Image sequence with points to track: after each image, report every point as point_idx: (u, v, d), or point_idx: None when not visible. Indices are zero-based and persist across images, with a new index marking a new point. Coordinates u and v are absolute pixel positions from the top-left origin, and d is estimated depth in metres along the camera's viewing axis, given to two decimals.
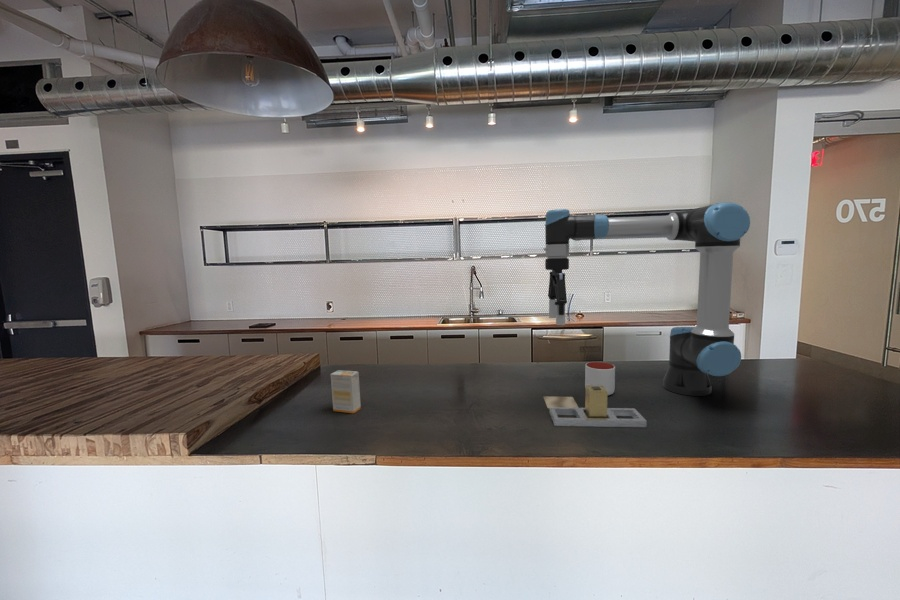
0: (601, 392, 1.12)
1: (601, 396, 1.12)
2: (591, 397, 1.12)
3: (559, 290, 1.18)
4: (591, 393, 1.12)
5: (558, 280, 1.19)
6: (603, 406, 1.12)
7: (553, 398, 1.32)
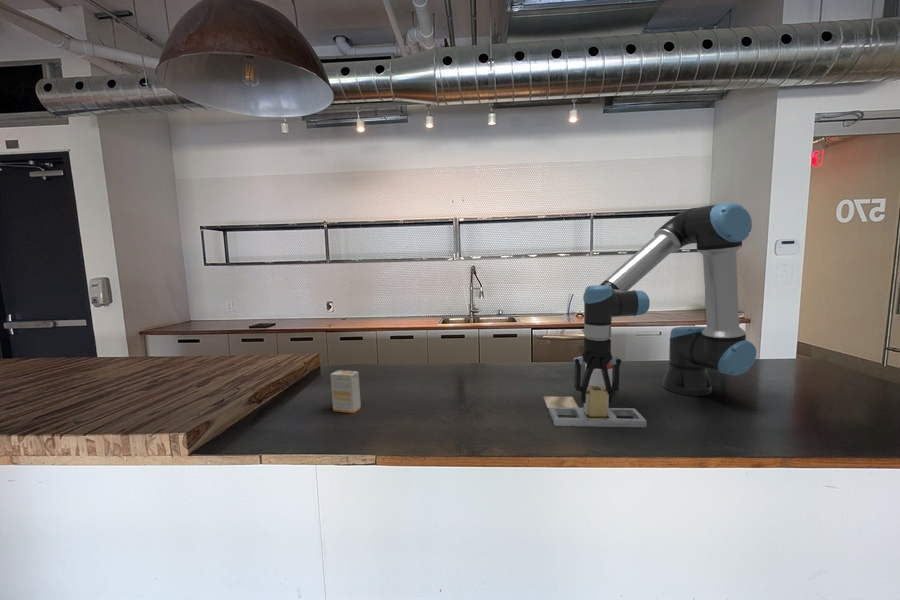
0: (601, 392, 1.12)
1: (601, 395, 1.12)
2: (591, 397, 1.12)
3: None
4: (591, 393, 1.12)
5: (575, 365, 1.15)
6: (603, 406, 1.12)
7: (553, 398, 1.32)
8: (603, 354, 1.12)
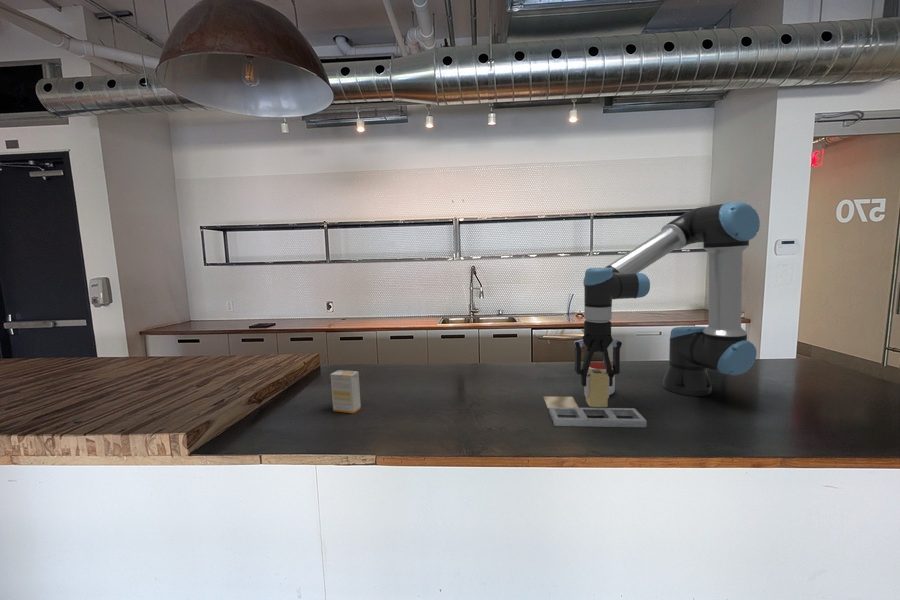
0: (601, 375, 1.11)
1: (601, 378, 1.11)
2: (591, 380, 1.12)
3: (575, 358, 1.15)
4: (591, 376, 1.11)
5: (575, 348, 1.14)
6: (603, 389, 1.12)
7: (553, 398, 1.32)
8: (603, 337, 1.11)
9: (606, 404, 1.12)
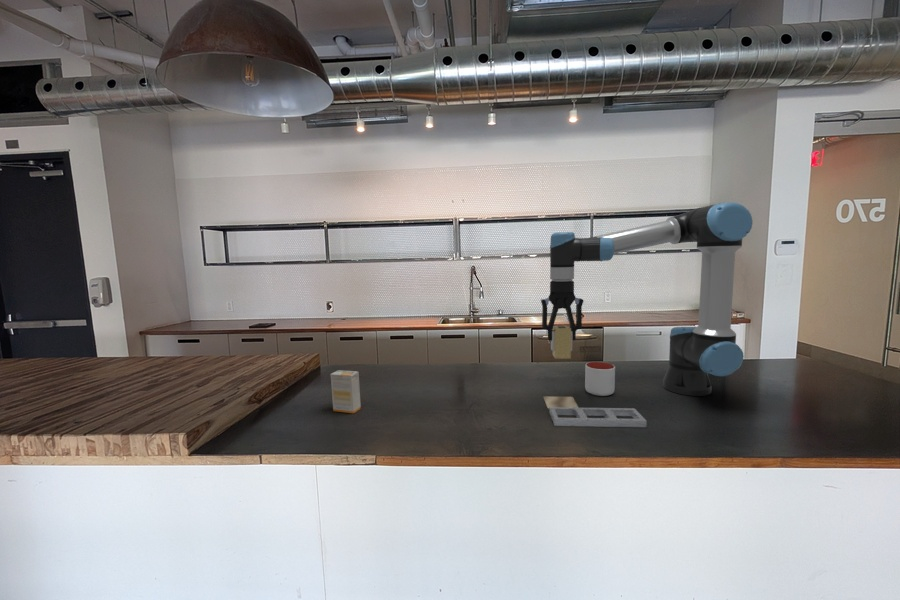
0: (565, 329, 1.23)
1: (565, 332, 1.23)
2: (556, 334, 1.24)
3: (542, 316, 1.27)
4: (556, 330, 1.23)
5: (542, 306, 1.26)
6: (567, 342, 1.24)
7: (553, 398, 1.32)
8: (567, 295, 1.23)
9: (569, 356, 1.24)
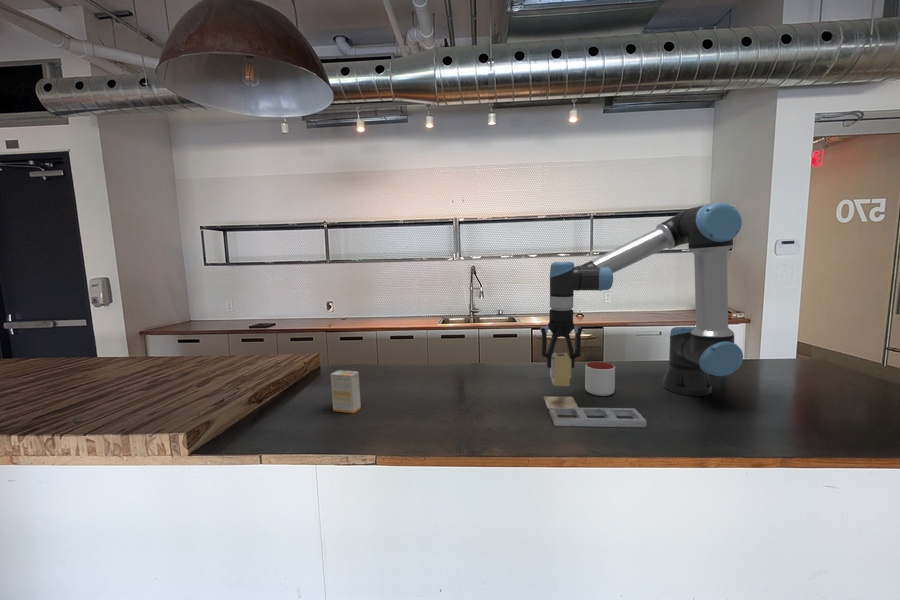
0: (564, 358, 1.25)
1: (564, 360, 1.25)
2: (555, 362, 1.25)
3: None
4: (555, 358, 1.25)
5: None
6: (566, 370, 1.25)
7: (553, 398, 1.32)
8: (566, 323, 1.25)
9: (568, 384, 1.25)
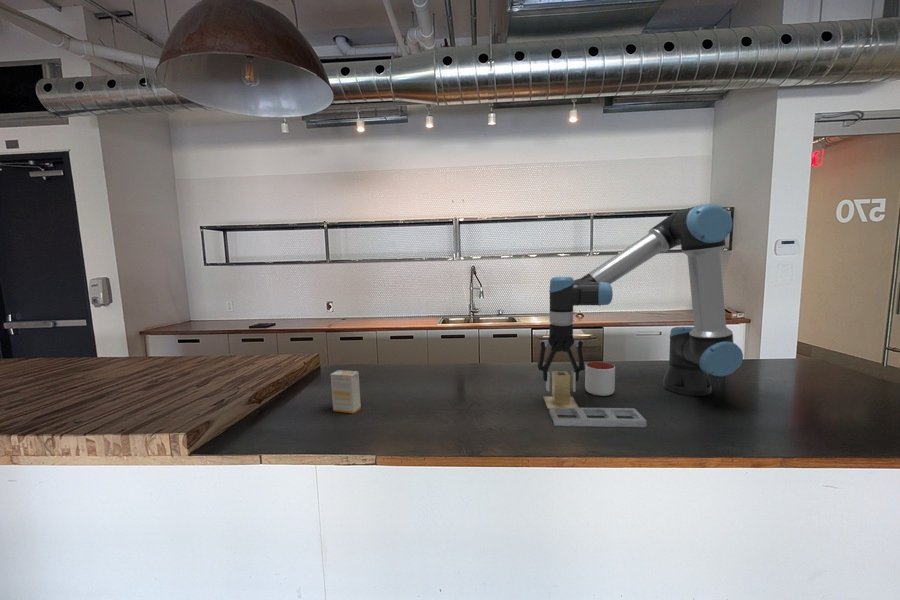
0: (564, 377, 1.25)
1: (564, 380, 1.25)
2: (556, 381, 1.26)
3: (539, 356, 1.29)
4: (556, 377, 1.26)
5: None
6: (566, 389, 1.26)
7: None
8: (566, 339, 1.25)
9: (569, 402, 1.26)
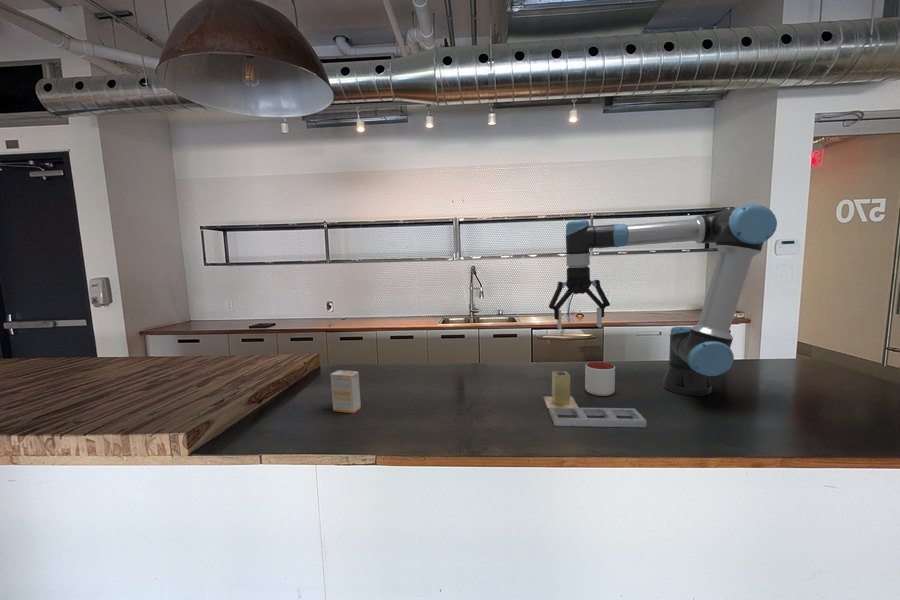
0: (564, 377, 1.25)
1: (564, 380, 1.25)
2: (556, 381, 1.26)
3: (553, 296, 1.32)
4: (556, 377, 1.26)
5: (557, 288, 1.32)
6: (566, 389, 1.26)
7: None
8: (583, 282, 1.29)
9: (569, 402, 1.26)
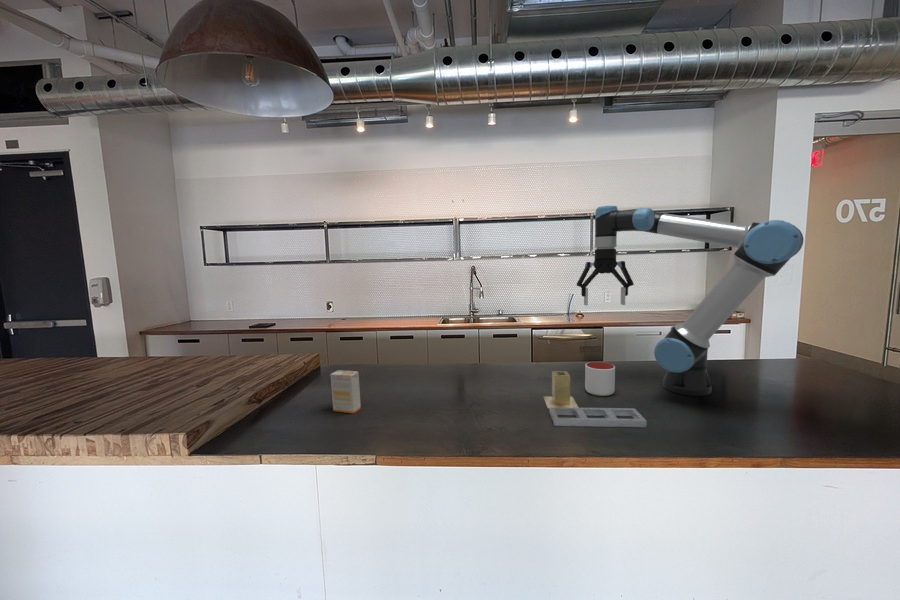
0: (564, 377, 1.25)
1: (564, 380, 1.25)
2: (556, 381, 1.26)
3: (581, 275, 1.44)
4: (556, 377, 1.26)
5: (585, 267, 1.44)
6: (566, 389, 1.26)
7: None
8: (609, 263, 1.41)
9: (569, 402, 1.26)
